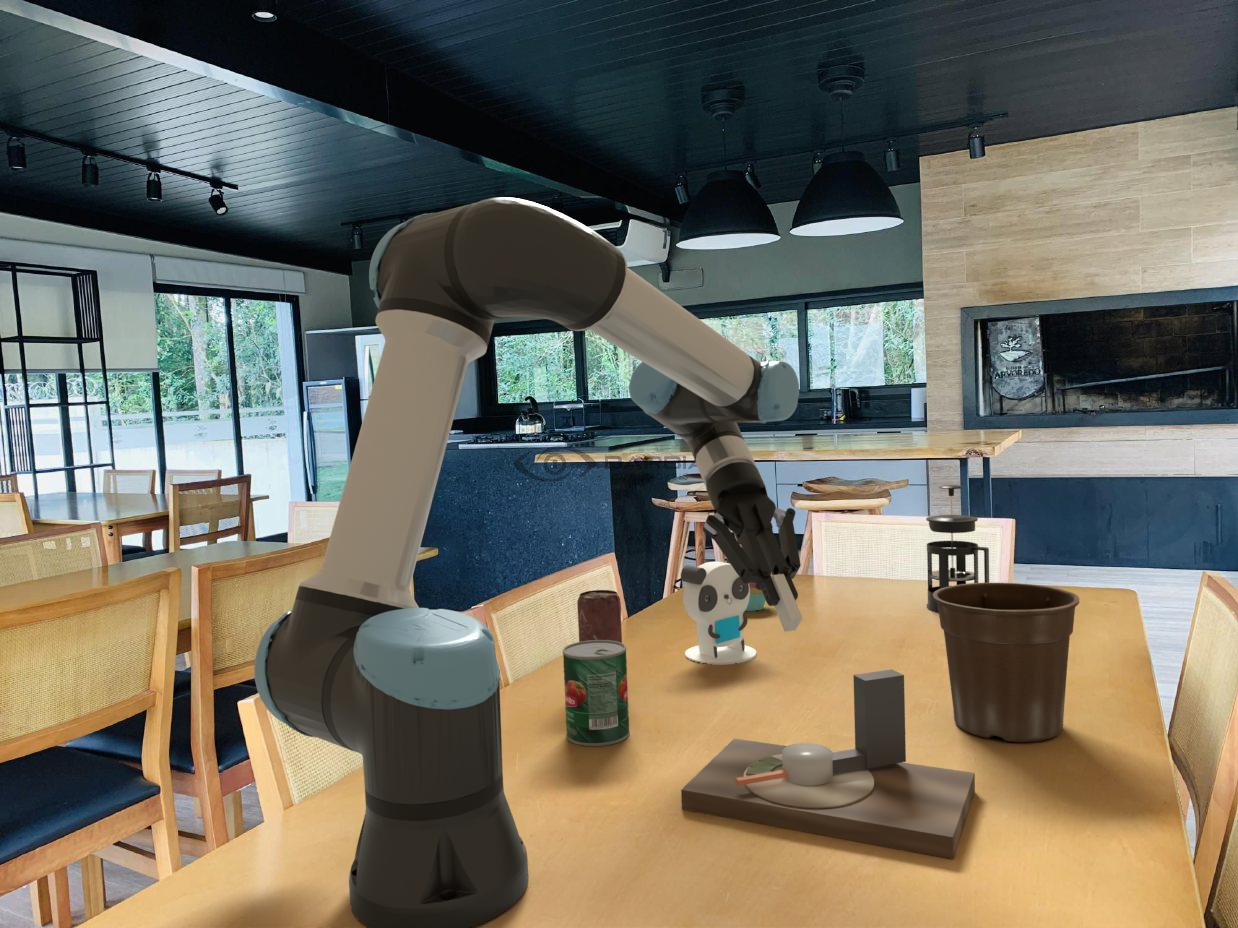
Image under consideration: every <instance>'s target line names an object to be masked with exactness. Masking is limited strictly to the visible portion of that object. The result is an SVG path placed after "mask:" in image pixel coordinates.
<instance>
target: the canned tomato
mask: <svg viewBox="0 0 1238 928" xmlns="http://www.w3.org/2000/svg"><path fill="white" fill-rule="evenodd" d="M562 655H563V659H562V660H563V674H564V675H563V680H564V701H565V724H566V726H565V727H566V733H565V734H566V739H567V740H568V742H570V743H572V744H575V745H578V746H583V747H603V746H610V745H615V744H617V743H621V742H623V741H625V740H626V739H627V738H628V737H629V736H630V734H631V732H630V718H629V717H630V715H629V714H630V711H629V693H628V691H629V690H628V689H629V688H628V667H627V664H628V660H627V646H626V644H625V643H623V642H622V643H621V642H617V641H610V640H590V641H582V642H579V641H578V642H573V643H571V644H568V645H566V646H565V647H564V648H563V649H562Z"/></svg>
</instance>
